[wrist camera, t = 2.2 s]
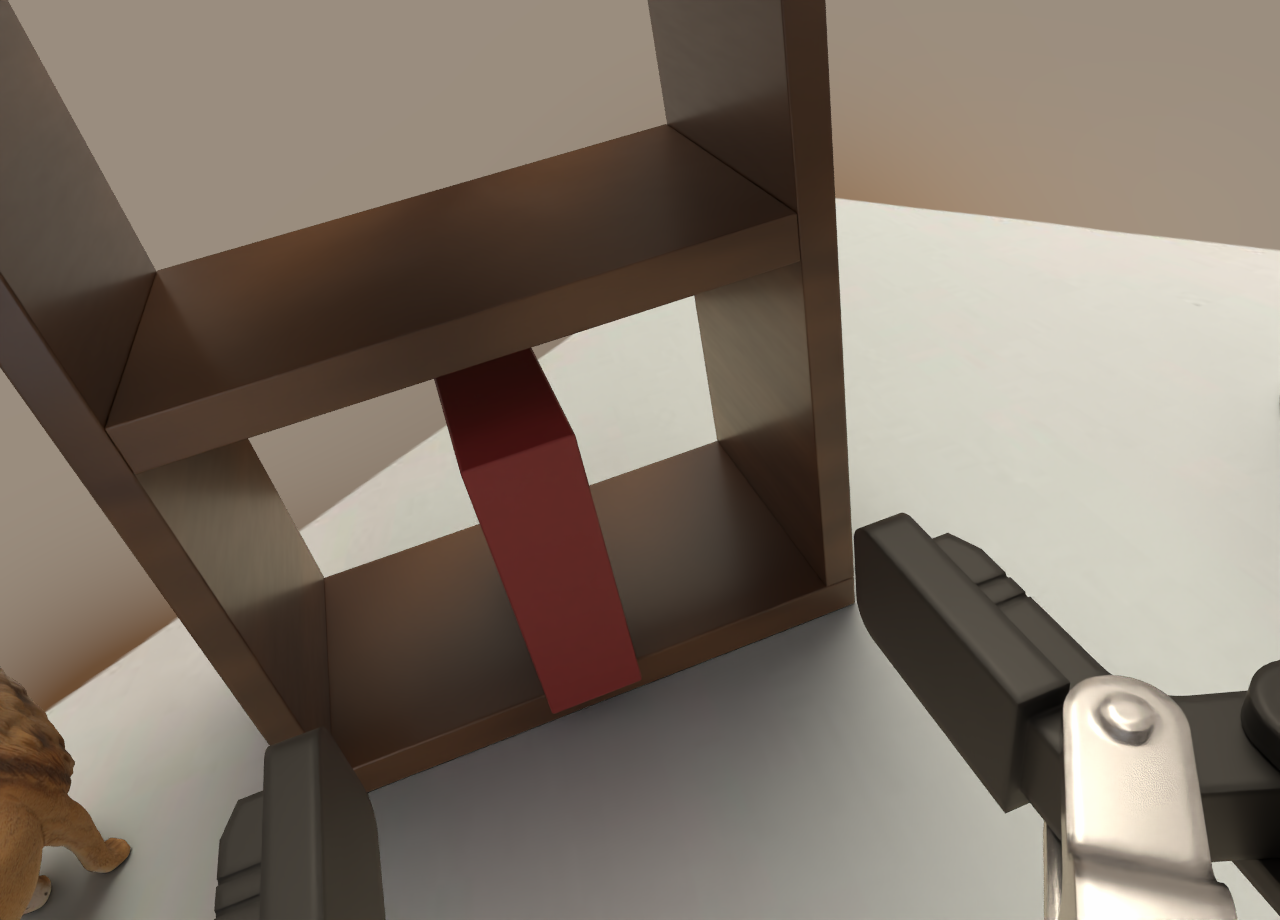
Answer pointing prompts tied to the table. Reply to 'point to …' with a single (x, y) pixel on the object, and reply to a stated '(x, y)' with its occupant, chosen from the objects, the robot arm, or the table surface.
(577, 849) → the table surface
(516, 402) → the book
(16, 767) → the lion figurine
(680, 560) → the bookcase
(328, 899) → the robot arm
